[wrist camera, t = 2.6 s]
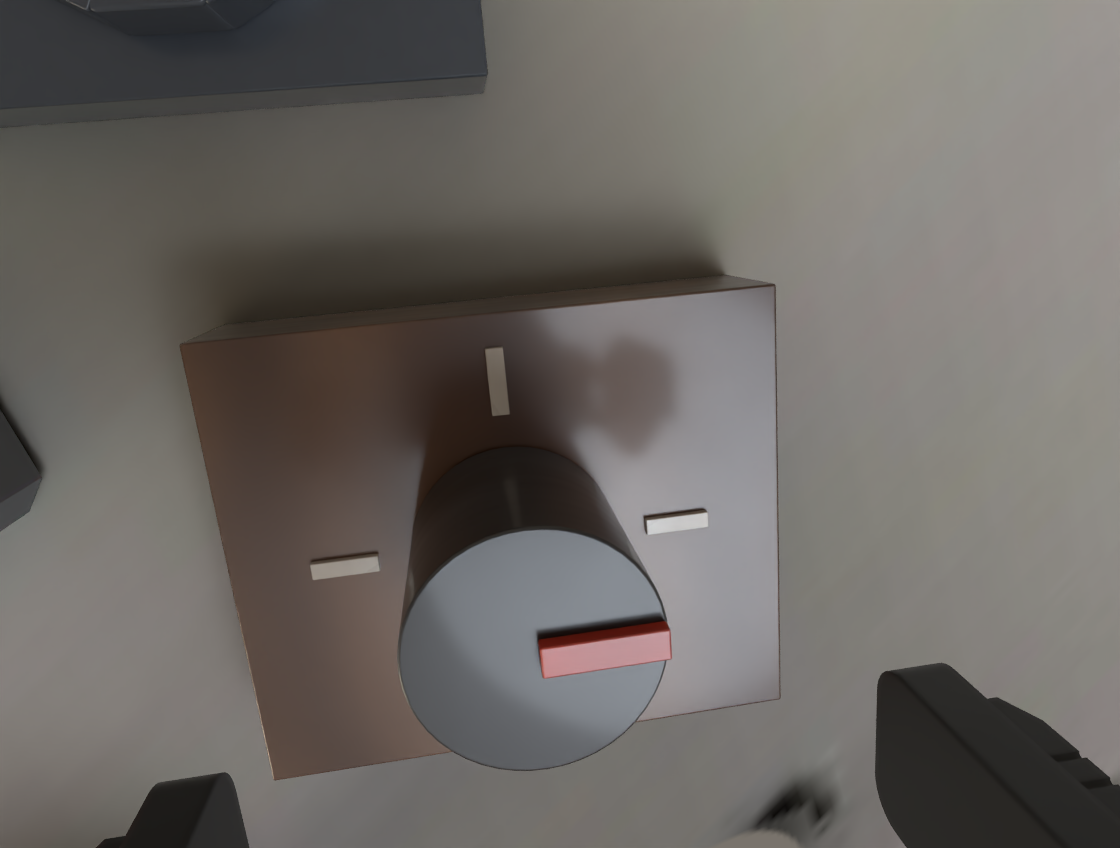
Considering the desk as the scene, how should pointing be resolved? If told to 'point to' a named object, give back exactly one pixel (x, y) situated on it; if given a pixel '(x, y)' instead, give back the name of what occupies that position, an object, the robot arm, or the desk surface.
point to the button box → (229, 55)
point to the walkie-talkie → (15, 477)
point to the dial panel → (464, 431)
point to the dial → (526, 614)
